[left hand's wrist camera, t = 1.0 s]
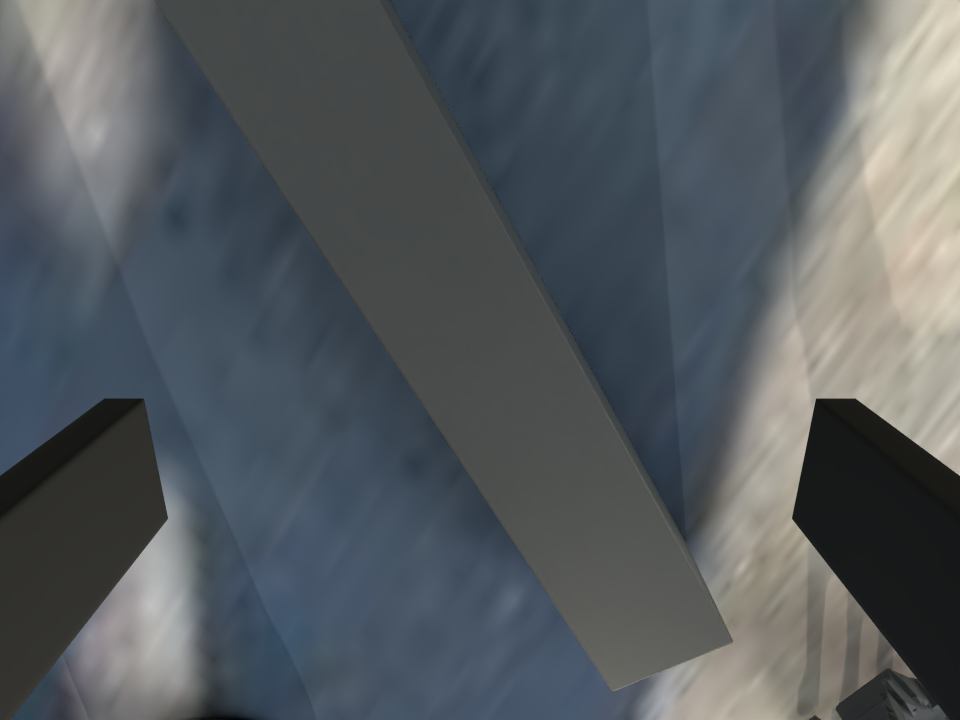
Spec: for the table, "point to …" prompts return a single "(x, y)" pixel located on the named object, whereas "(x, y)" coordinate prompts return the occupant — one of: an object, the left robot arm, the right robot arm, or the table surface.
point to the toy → (890, 700)
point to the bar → (458, 311)
